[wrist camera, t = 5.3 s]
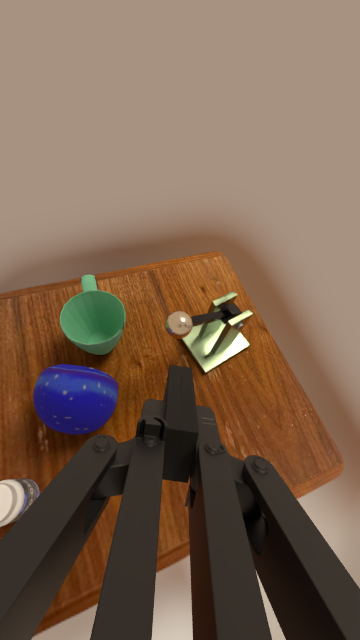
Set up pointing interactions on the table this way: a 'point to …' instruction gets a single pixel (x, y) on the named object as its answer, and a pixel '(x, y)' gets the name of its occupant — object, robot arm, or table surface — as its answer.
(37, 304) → the table surface
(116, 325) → the mug
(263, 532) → the robot arm
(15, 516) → the pill bottle
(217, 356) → the bracket
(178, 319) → the lever
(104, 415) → the ornament
